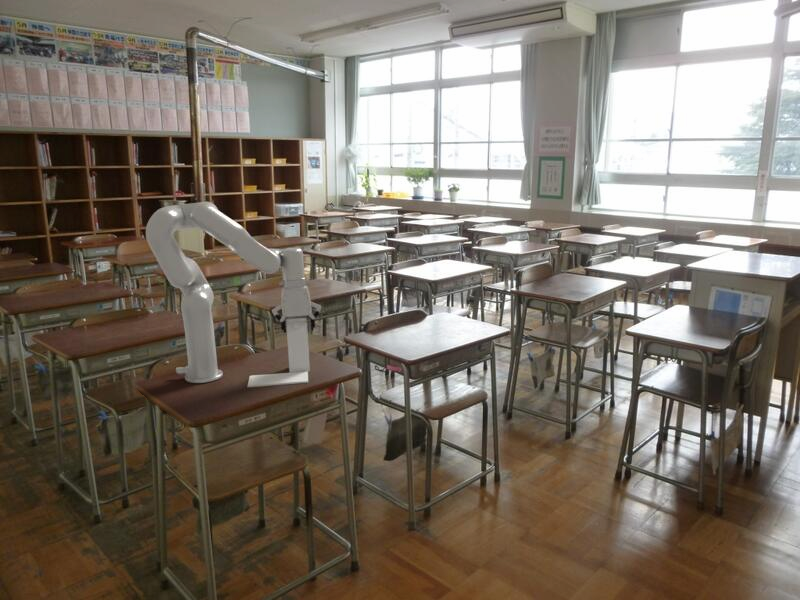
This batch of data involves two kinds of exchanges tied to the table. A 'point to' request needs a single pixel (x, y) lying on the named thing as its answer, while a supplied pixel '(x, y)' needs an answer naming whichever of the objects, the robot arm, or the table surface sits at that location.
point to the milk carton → (298, 345)
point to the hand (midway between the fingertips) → (298, 330)
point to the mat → (278, 379)
